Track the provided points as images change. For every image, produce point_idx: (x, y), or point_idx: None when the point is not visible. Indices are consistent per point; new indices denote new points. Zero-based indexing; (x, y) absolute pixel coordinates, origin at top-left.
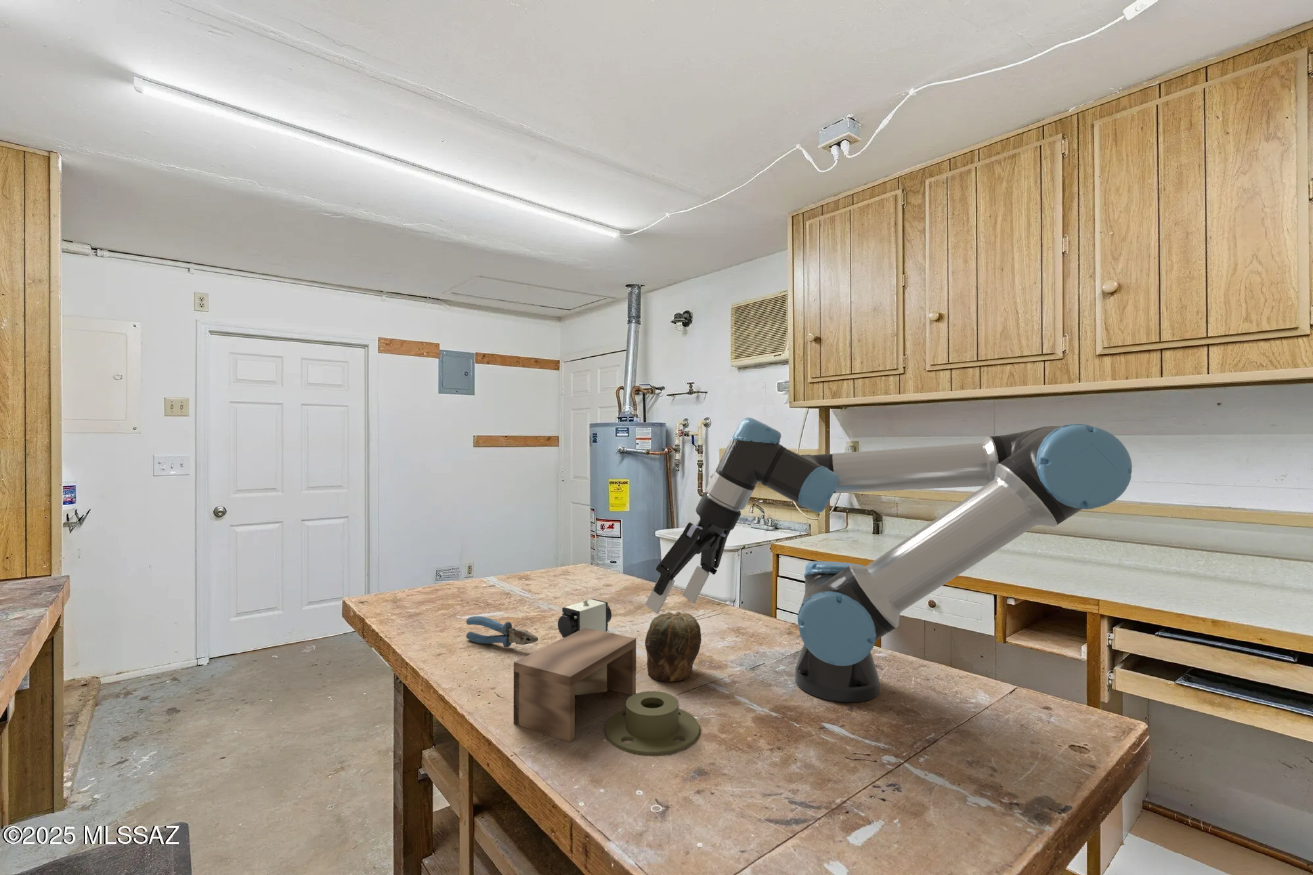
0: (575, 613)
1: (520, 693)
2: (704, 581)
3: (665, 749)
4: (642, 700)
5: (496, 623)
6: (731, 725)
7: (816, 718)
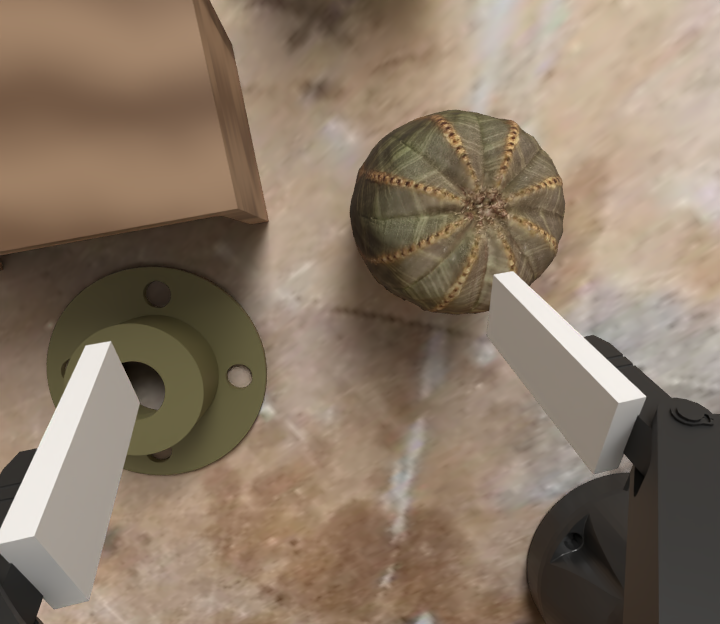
0: None
1: None
2: (561, 426)
3: None
4: (129, 360)
5: None
6: (293, 488)
7: (436, 597)
